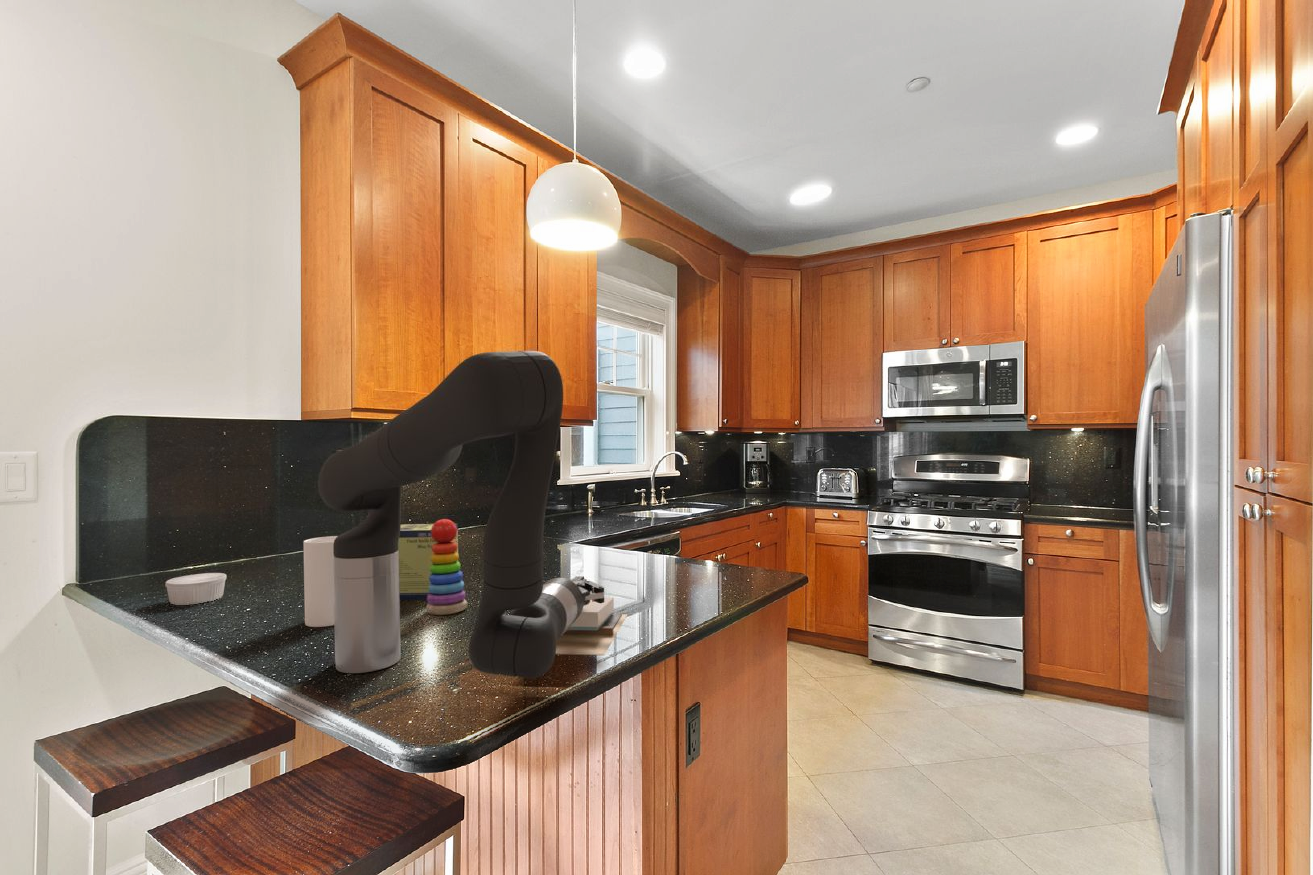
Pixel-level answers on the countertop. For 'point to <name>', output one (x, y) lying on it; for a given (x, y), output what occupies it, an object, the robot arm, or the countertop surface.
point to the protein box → (416, 560)
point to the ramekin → (196, 588)
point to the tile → (594, 615)
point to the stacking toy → (445, 572)
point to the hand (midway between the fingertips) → (580, 582)
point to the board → (590, 638)
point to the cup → (319, 581)
